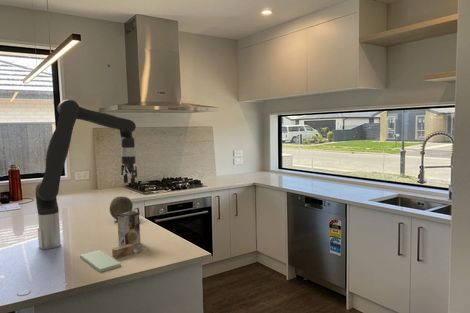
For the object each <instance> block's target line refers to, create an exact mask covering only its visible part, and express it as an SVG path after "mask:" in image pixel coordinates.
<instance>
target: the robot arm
mask: <svg viewBox="0 0 470 313" xmlns="http://www.w3.org/2000/svg"><path fill="white" fill-rule="evenodd" d="M56 110H57V112H58V114H59V116H58V121H57V125H56V127H55V129H54V132H52V135H51V137H50V140H49V144H48V146H47V150H46V155H45V169H44V170H45V171H44V175H43V177H42V180H41V181H40V182H38V184H36V187H35V201H36V210H37V218H38V228H37V237H38V248H40V250H50V249H51V250H52V249H55V248H58V247H60V246H61V243H62V242H61V240H62V239H61V228H60V214H59V212H60V210H59V204H58V199H57V198H58V197H57V196H58V194H59V190H60V185H61V184H60V183H61V176H62V172H63V170H64V167H65V164H66V160H67V157H68V154H69V149H70V145H71V140H72V136H73V130H74V127H75V124H76V121H77V120H82V121H85V122H89V123H91V124H95V125H98V126H102V127H106V128H109V129H113V130H114V129H116V130H119V135H120V138H121V154H120V156H121V165H120V173H121V174H120V175H121V176H122V177H123V183H124V184H127V183H129V178H128V177H130V185H132V186H134V185H136V179H135V178H137V177H138V170H137V166H135V164H136V162H137V161H136V148H135V145H136V144H135V138H134V137H133V132H134V131H135V130H136V129H137V126H136V123H135V122H134V121H133V120H131V119H127V118H123V117H120V116H119V117H118V116H116V115H114V114H110V113H105V112H101V111H96V110H92V109H87V108H84V107H82V106H80V105H79V104H78V102H77V101H76V100H74V99H65V100H62V101H60V102H59V104H58V105H57V109H56Z"/></svg>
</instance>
